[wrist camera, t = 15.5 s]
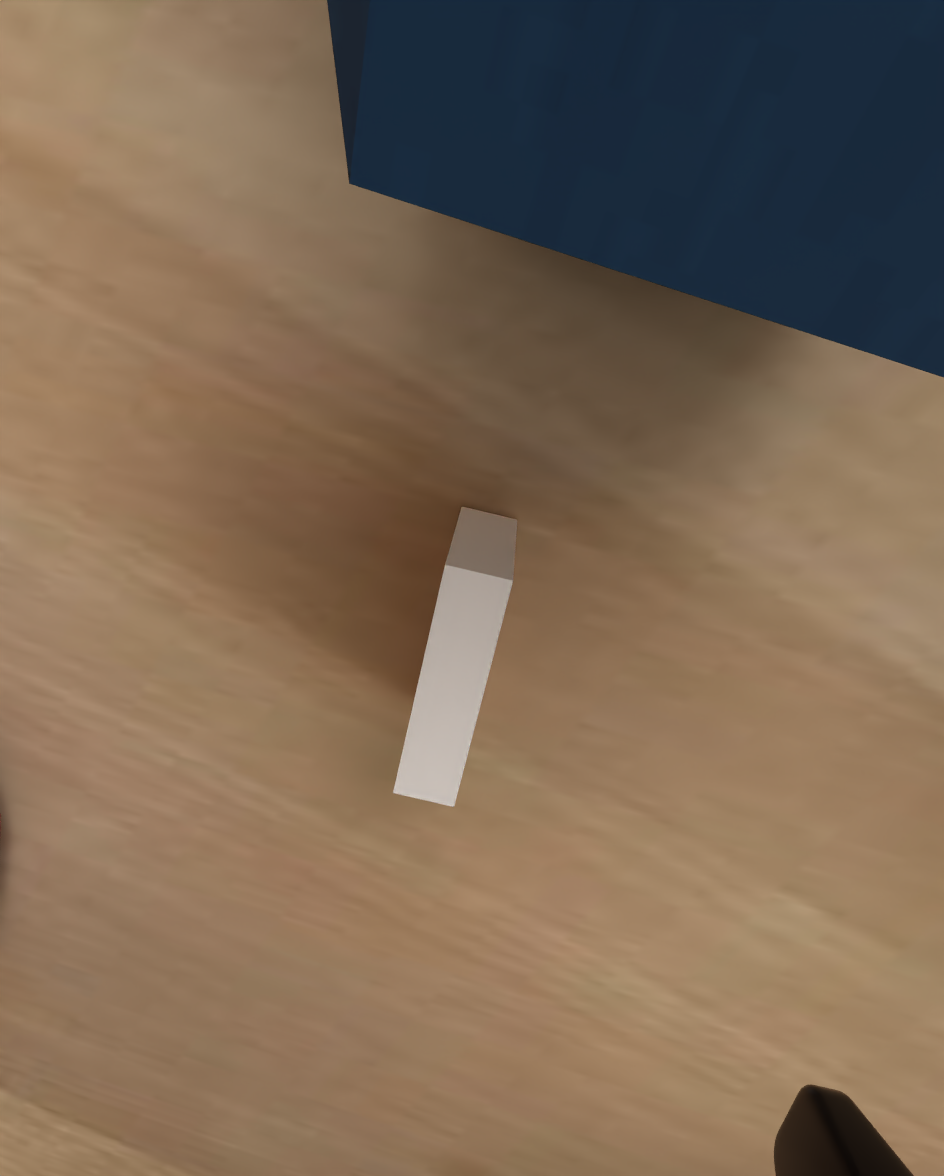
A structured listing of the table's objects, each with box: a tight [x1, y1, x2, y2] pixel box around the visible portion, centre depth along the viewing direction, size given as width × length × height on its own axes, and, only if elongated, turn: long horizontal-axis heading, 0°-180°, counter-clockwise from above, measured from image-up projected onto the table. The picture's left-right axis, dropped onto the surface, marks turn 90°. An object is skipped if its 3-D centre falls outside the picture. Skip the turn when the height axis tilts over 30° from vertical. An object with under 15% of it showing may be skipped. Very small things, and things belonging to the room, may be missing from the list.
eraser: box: [393, 507, 517, 807], centre depth 18 cm, size 1×5×4 cm, turn 167°
